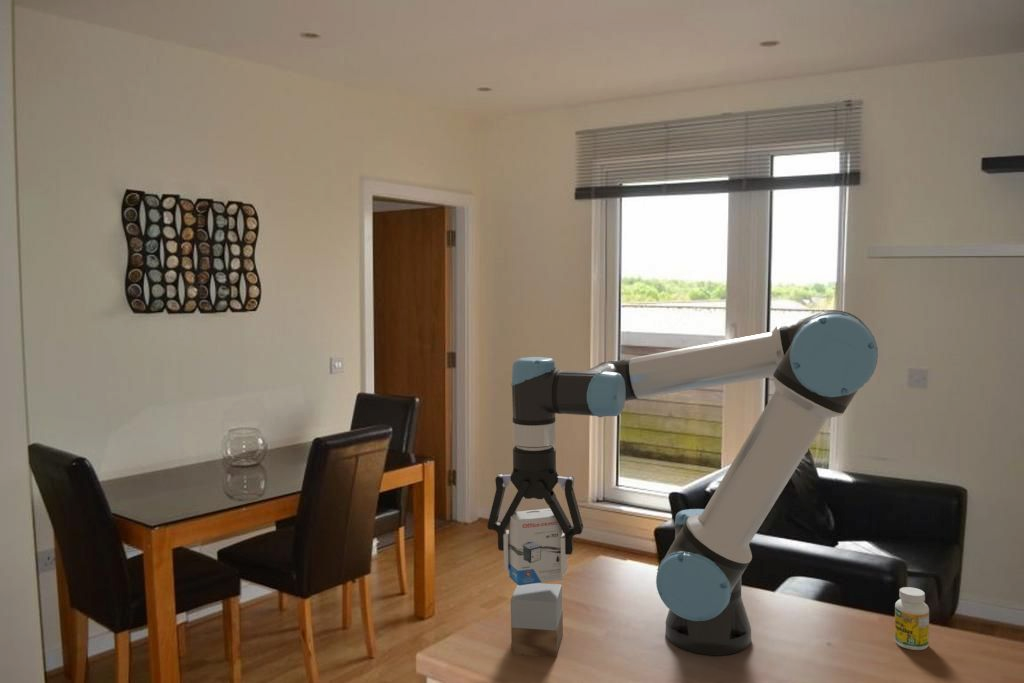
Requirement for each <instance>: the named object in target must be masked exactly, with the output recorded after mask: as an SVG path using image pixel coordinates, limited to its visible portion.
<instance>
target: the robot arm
mask: <svg viewBox="0 0 1024 683" xmlns="http://www.w3.org/2000/svg"><path fill="white" fill-rule="evenodd" d="M875 338H876V337H875V336H874V334H873V333H872V331H871V329H870V328H869V327H868V326H867V325H866V324H865V323H864V322H863V321H862V320H861V319H860V318H859V317H857V316H855V315H854V314H851V313H849V312H848V311H847V312H846V311H844V310H838V309H837V310H836V309H830V310H824V311H820V312H818V313H815V314H813V315H810V316H806V317H804V318H802V319H798V320H793V321H789V322H786V323H781V324H777V325H776V326H775V327H774V329H773V330H772V331H771V332H764V333H759V334H754V335H748V336H743V337H737V338H733V339H732V338H731V339H727V340H721V341H716V342H710V343H706V344H705V343H704V344H699V345H694V346H688V347H684V348H679V349H672V350H668V351H662V352H661V351H660V352H657V353H652V354H651V353H650V354H646V355H642V356H641V355H640V356H636V357H631V358H625V359H620V360H614V359H613V360H607V361H602V362H600V363H599V364H597V365H596V366H594V367H591V368H589V369H587V370H561V369H557V367H556V363H555V362H556V361H555V360H554V359H553V358H552V357H543V356H528V357H519V358H517V359H515V361H514V362H513V363H512V372H511V373H512V376H511V384H510V387H511V398H512V399H511V401H512V402H511V403H512V404H511V406H512V443H513V445H514V447H513V448H512V473H511V474H504V473H503V472H500V473H499V474H498V475H496V477H495V489H496V490H495V493H494V497H493V501H492V506H491V510H490V513H489V516H488V517H489V518H488V522H487V525H486V526H487V529H488V530H492V531H494V532H496V533H497V548H498V551H503V571H507V572H508V571H509V529H507V528H508V527H509V521H510V519H511V516H513V514H514V513H515V512H517V509H518V507H519V505H520V504H521V502H522V501H523V498H524V499H527V500H528V499H529V500H530V499H537V500H543V499H544V501H545V503H546V504H547V506H549V508H550V509H551V511H552V512H553V514H554V516H555V518H556V520H557V522H558V523H559V525H560V527H561V529H562V536H561V574H562V575H566V573H567V571H568V555H572V554H573V550H574V536H577V535H581V534H582V533H583V530H584V524H583V519H582V517H581V512H580V509H579V504H578V502H577V498H576V494H575V490H574V483H575V477H574V476H573V475H569V476H568V477H567V476H561V475H560V476H559V474H558V472H557V458H556V454H557V453H556V452H557V450H556V449H557V448H556V447H555V446H554V445H555V444H556V442H557V441H556V440H557V439H556V435H557V434H556V414H559V415H576V416H593V417H598V418H604V417H617V416H619V415H620V414H621V413H623V409H624V408H625V403H626V402H628V401H634V400H638V399H644V398H649V397H657V396H662V395H663V396H664V395H668V394H673V393H674V394H675V393H680V392H686V391H693V390H698V389H705V388H712V387H717V386H723V385H724V386H725V385H729V384H730V385H731V384H736V383H743V382H749V381H754V380H759V379H768V378H772V381H773V384H774V389H775V391H774V392H773V394H772V395H771V398H770V399H769V401H768V402H767V404H766V405H765V407H764V409H763V410H762V412H761V413H760V415H759V417H758V419H757V421H756V422H755V424H754V425H753V427H752V429H751V431H750V433H749V434H748V435H747V437H746V439H745V441H744V442H743V444H742V446H741V447H740V449H739V451H738V453H737V455H736V456H735V458H734V459H733V461H732V462H731V465H730V466H729V467H728V469H727V470H726V473H725V474H724V475H723V478H722V479H721V481H720V482H719V484H718V486H717V487H716V490H715V491H714V493H713V494H712V496H711V498H710V499H709V501H708V503H707V504H706V506H705V508H689V509H683V510H680V511H678V512H677V513H676V515H675V518H674V523H673V526H674V530H675V532H674V533H675V534H674V540H673V542H672V543H671V545H670V547H669V549H668V550H667V552H666V554H665V556H664V557H663V559H662V560H661V561H660V562H659V564H658V567H657V572H656V576H655V577H656V578H655V579H656V580H655V585H656V590H657V592H658V595H659V598H660V599H661V601H662V602H663V603H664V605H665V606H666V607H667V609H668V612H667V616H666V619H665V636H666V638H667V640H669V642H671V644H673V645H675V646H676V647H679V648H680V649H681V650H685V651H688V652H692V653H695V654H701V655H710V656H724V655H731V654H736V653H740V652H742V651H744V650H746V649H747V648H748V647H749V646H750V645H751V643H752V628H751V627H752V626H751V623H750V620H749V617H748V615H747V611H746V607H745V605H744V601H743V599H742V575H743V574H744V572H745V570H746V569H747V568H748V566H749V565H750V563H751V561H752V559H753V554H752V550H751V547H750V544H751V542H752V540H753V539H754V537H755V535H756V534H757V533H758V531H759V530H760V527H761V526H762V525H763V523H764V521H765V519H766V518H767V516H768V515H769V513H770V512H771V510H772V508H773V507H774V505H775V504H776V502H777V500H778V499H779V497H780V495H781V494H782V492H783V491H784V489H785V487H786V486H787V484H788V482H789V481H790V479H791V477H792V476H793V474H794V473H795V471H796V470H797V468H798V466H800V463H801V462H802V461H803V459H804V457H805V456H806V454H807V453H808V450H809V448H810V447H811V446H812V443H814V441H815V439H816V438H817V436H818V434H819V432H820V431H821V430H822V427H823V426H824V425H825V423H826V421H827V420H829V419H832V418H836V417H839V416H842V415H844V413H845V411H846V410H847V409H848V406H849V405H850V404H851V403H852V401H853V399H854V397H855V395H856V394H857V392H858V391H859V390H860V389H861V388H863V387H864V386H865V384H867V383H868V382H869V381H870V380H871V378H872V376H873V375H874V373H875V371H876V368H877V364H878V356H879V352H878V350H879V349H878V345H877V341H876V339H875ZM510 482H511V483H512V484H513V485H514V487H515V489H516V490H517V491H516V493H515V496H514V497H513V499H512V501H511V504H510V505H509V507H508V509H507V510H506V512H505V515H504V517H502V520H501V522H499V520H498V519H499V516H500V513H501V508H502V504H503V500H504V496H505V492H506V488H507V487H508V486H509V485H510ZM557 484H559V485H560V488H561V489H562V490H563V491H564V496H565V500H566V504H567V506H568V507H567V508H568V510H569V511H568V512H569V515H570V518H571V522H572V523H571V522H570V520H569V518H568V517H567V515H566V513H565V512H564V510H563V508H562V506H561V504H560V502H559V500H558V499H557V495H556V493H555V491H554V489H555V487H556V486H557Z"/></svg>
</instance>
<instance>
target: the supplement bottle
mask: <svg viewBox="0 0 1024 683" xmlns="http://www.w3.org/2000/svg"><path fill="white" fill-rule="evenodd" d="M898 591H899V599H898V600H897V601H896V602H895V604H894V640H895V643H896V644H897V645H898V646H900V647H901V648H904V649H906V650H911V651H912V650H913V651H922V650H926V649H927V648H928V647H929V643H930V636H929V635H930V634H929V633H930V608H929V606H928V604H926V602H925V601H926V594H925V592H924V591H923V590H922V589H919V588H916V587H910V586H908V587H906V586H903V587H901V588H899V590H898Z"/></svg>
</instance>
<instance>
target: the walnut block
mask: <svg viewBox="0 0 1024 683" xmlns="http://www.w3.org/2000/svg"><path fill="white" fill-rule="evenodd" d="M563 614H564V612H563V610H562V613H561V617H560V620H559V624H558V627H557V630H542V629H527V628H512V627H511V626H510V628H511V629H510V630H511V631H510V633H511V634H510V636H511V639H510V640H511V642H510V643H511V654H512V655H521V654H524V655H523V656H534V655H537V657H538V656H539V657H547V658H548V657H551V658H558V655H559V652H560V648H561V644H562V641H563V638H564V621H563V619H564V615H563ZM562 637H563V638H562Z"/></svg>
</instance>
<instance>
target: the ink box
mask: <svg viewBox="0 0 1024 683" xmlns="http://www.w3.org/2000/svg"><path fill="white" fill-rule="evenodd" d="M508 530H509V570H508V571H509V572H508V573H509V575H508V576H509V578H510V579H511V580H512V581H513V582H514V583H515V584H516V586H517V585H526V584H534V583H547V582H554V581H556V582H557V581H562V580H563V574H561V536H562V534H563V531H562V529H561V527H560V525H559V523H558V522H557V520H556V518H555V516H554V514H553V512H552V511H551V509H550V507H549V508H540V509H539V508H538V509H532V510H531V509H529V510H518V511H515V513H514V514H513V516H511V519H510V521H509V524H508Z"/></svg>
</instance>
